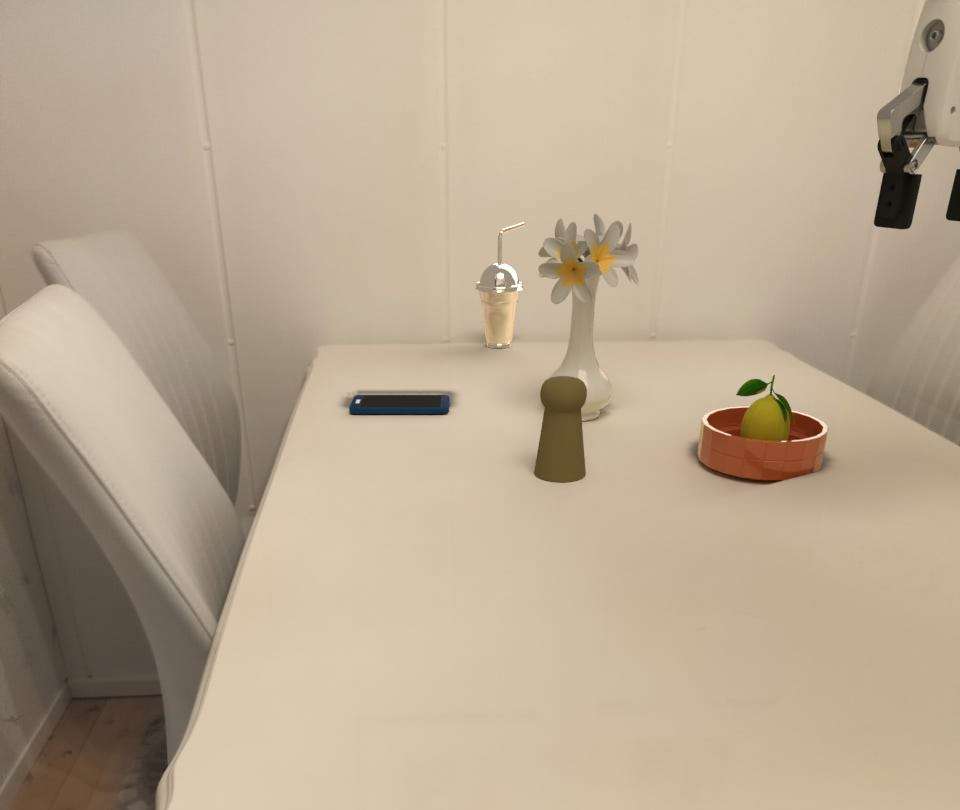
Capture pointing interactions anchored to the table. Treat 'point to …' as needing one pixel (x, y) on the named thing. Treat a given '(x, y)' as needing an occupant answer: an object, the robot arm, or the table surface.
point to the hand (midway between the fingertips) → (928, 224)
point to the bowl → (760, 447)
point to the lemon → (765, 413)
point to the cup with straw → (499, 298)
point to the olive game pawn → (561, 430)
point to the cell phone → (400, 404)
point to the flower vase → (586, 296)
